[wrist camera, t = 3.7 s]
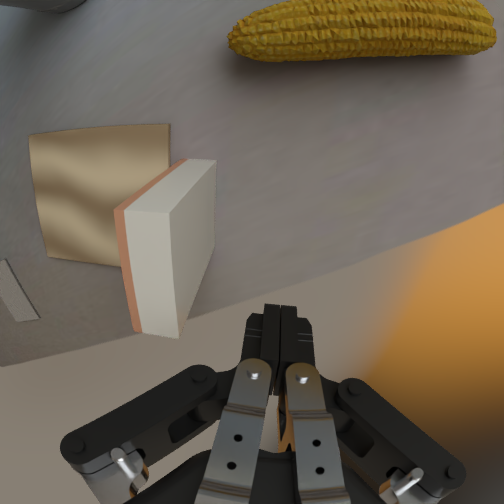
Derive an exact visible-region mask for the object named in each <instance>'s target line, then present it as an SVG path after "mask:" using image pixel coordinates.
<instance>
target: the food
mask: <svg viewBox="0 0 504 504" xmlns="http://www.w3.org/2000/svg"><path fill="white" fill-rule="evenodd" d="M493 22H494V18H493V17H492V16H491V15H490V14H489V13H488V11H487V9H486V8H485V7H484V5H482V4H481V3H479V2H478V1H477V0H290V1H286V2H281V3H279V4H274V5H272V6H269V7H266V8H264V9H261V10H258V11H254V12H253V13H251V14H250V16H246V17H244V18H243V20H241V19H240V20H238V21H237V23H238V25H236V26H233V31H232V32H229V34H228V36H227V38H228V39H229V42H228V44H229V47H228V48H230V49H232V50H234V51H235V52H236V54H237V55H238V54H241V55H242V56H245V57H249V58H251V59H254V60H260V61H261V62H263V61H265V62H282V61H283V60H284V61H285V60H286V61H299V60H301V61H306V60H311V61H313V60H317V61H318V60H324V59H334V60H336V59H341V58H350V57H368V56H372V57H377V56H396V57H399V56H410V55H413V56H415V55H475V54H477V53H479V52H481V51H485V50H488V48H489V47H493V45H494V44H495V43H496V40H497V37H496V30H495V29H494V28H493V27H492V24H493Z"/></svg>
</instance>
